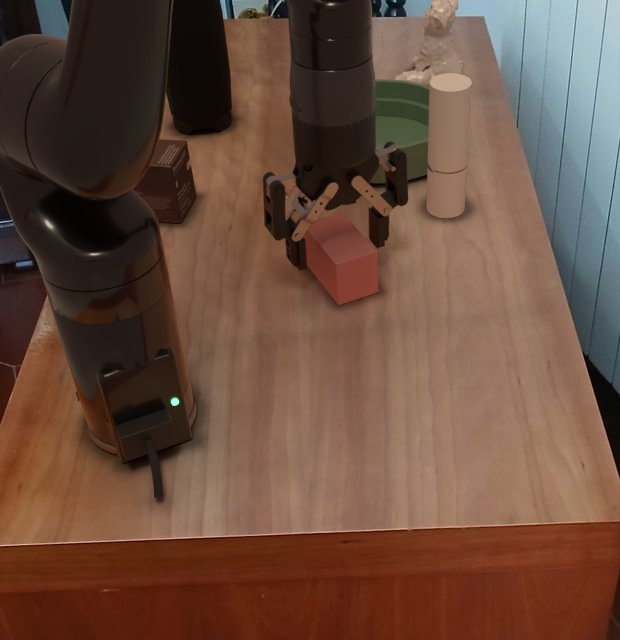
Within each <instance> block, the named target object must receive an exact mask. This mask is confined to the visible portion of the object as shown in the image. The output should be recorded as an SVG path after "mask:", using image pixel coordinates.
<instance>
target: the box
mask: <svg viewBox="0 0 620 640" xmlns="http://www.w3.org/2000/svg"><path fill="white" fill-rule="evenodd" d="M188 145H189V144H188V140H185V139H183V140H182V139H166V138H165V139H162V138H159V142H158V145H157V148H156V151H155V154H154V157H153V159H152V162H151V164H150V166H149V168H148V169H147V171H146V173H145V175H144V176H143V178H142V179H141V180H140V181H139V183H138V184H137V185H136V186H135V187H134V188H133V189H134V190H135V191H136V192H137V193H138V194H139V195H140V196H141V197H142V198H143V199H144V200H145V201H146V202H147V203H148V205H149V206H150V207H151V208H152V210H153V211H154V213H155V215H156V217H157V220H158V222H166V223H177V224H178V223H181V222H183V220H184V219H185V217H186V216H187V214H188V212H189V210H190V209H191V207H192V205H193V203H194V202H195V200H196V198H197V190H196V186H195V178H194V173H193V167H192V161H191V156H190V151H189V147H188Z"/></svg>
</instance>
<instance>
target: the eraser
mask: <svg viewBox="0 0 620 640" xmlns="http://www.w3.org/2000/svg"><path fill="white" fill-rule="evenodd" d="M303 237H304V238H305V243H306V258H307V269H309V270H310V271H311V273H312V274H313V276H314V277H315V278H316V279H317V280H318V282H319V283H320V284H321V285H322V287H323V288H324V289H325V290H326V292H327V293H328V294H329V296H330V297H331V298H332V299H333V301H334V302H335V303H336V304H337V306H341V305H344V304H347V303H350V302H354V301H357V300H360V299H362V298H366V297H368V296H371V295H374V294H377V293H378V294H379V251H378V250H377V248H376V247H375V246H374V245H373V244H372V242H371V241H370V240H368V239H367V238H366V237H365V236H364V234H363V233H362V232H361V230H359V229H358V228H357V227H356V226H355V225H354V223H353V222H352V221H351V220H350V219H349V218H348V217H347V216H346V215H345V214H344V213H343V212H339V213H336V214H332V215H329V216H325V217H322V218H318V220H317V221H316V222H315V223H312V224H311V225H310V227H309V228H308V230H307V231H306V233H305V235H304V236H303Z"/></svg>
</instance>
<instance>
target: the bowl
mask: <svg viewBox="0 0 620 640" xmlns="http://www.w3.org/2000/svg"><path fill="white" fill-rule="evenodd" d="M375 82H376V148H375V151H379V150H382V149H384V145H385V144H386V143H387V142H389V141H391V142H393V143H395V144H396V145H397V146H398V147H399V148H400V149H402V151H403V152H405V153H406V156H407V180H408V181H409V180H414V179H416V178H420V177H423V176H426V175H427V169H428V128H429V90H430V87H428V86H425V85H423V84H419V83H413V82H408V81H403V80H395V79H381V78H380V79H379V78H378V79H375ZM369 184H376V185H377V184H378V185H379V184H386V181H385V169H384V168H383V167H382V166H381V165H380V164H379V167H378V169H377V171H376V173H375V174H374V176H373V178H372V179H371V181H370V183H369Z"/></svg>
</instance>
